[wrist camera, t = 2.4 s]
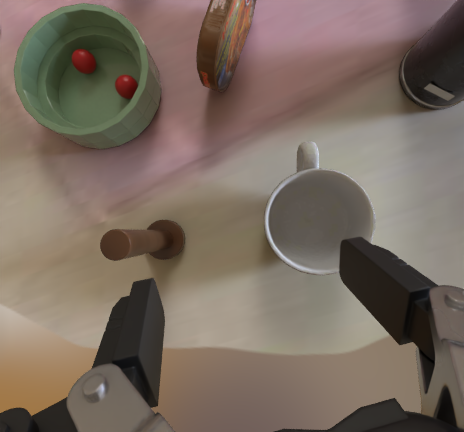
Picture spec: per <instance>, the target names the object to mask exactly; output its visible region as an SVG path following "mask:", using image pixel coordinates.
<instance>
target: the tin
mask: <svg viewBox="0 0 464 432" xmlns="http://www.w3.org/2000/svg"><path fill="white" fill-rule="evenodd" d="M255 4H256V0H211V1H210V4H209V7H208V10H207V12H206V15H205V18H204V21H203V24H202V27H201V31H200V35H199V40H198V46H197V70H198V73H199V76H200V80H201V82H202V84H203V85H204V86H205V87H208V88H211V89H215V90H218V91H219V92H223V91H225V90H226V88H227V87H228V85H229V83H230V81H231V79H232V76H233V73H234V70H235V67H236V65H237V62H238V59H239V56H240V53H241V50H242V48H243V45H244V42H245V39H246V36H247V34H248V31H249V28H250V25H251V21H252V17H253V13H254V9H255Z"/></svg>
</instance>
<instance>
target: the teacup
mask: <svg viewBox="0 0 464 432" xmlns="http://www.w3.org/2000/svg"><path fill="white" fill-rule="evenodd" d="M264 229H265V234H266V237H267V240H268V242H269V244H270V246H271V248H272V249H273V251H274V252H275V254H276V255H277V256H278V257H279V258H280V259H281V260H282V261H283V262H284V263H286V264H287V265H288V266H290V267H292V268H294V269H296V270H298V271H300V272H304V273H307V274H313V275H329V274H334V273H338V272H339V261H340V244H341V241H342V240H344V239H349V238H354V237H359V236H360V237H363V238H364V239H365V240H367V241H368V242H370V243H371V241H372V238H373V235H374V231H375V214H374V209H373V207H372V204H371V200H370V199H369V196H368V195H367V193H366V191H365V190H364V189H363V188H362V187H361V186H360V185H359V184H358V183H357V182H356V181H355V180H354V179H353V178H351V177H350V176H347V175H346V174H344V173H341V172H338V171H335V170H331V169H321V168H319V154H318V148H317V145H316V144H315V143H314V142H311V141H308V142H303V143H301V144H300V145H299V147H298V151H297V173H295V174H293V175H291V176H289V177H288V178H286V179H285V180H283V181H282V182H281V183H280V184H279V185H278V186H277V187H276V188H275V189H274V191H273V192H272V194H271V196H270V198H269V200H268V202H267V205H266V209H265V214H264Z"/></svg>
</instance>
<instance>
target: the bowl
mask: <svg viewBox="0 0 464 432" xmlns="http://www.w3.org/2000/svg"><path fill="white" fill-rule="evenodd" d="M77 49H85V50H87V51H89V52H90V53H91V54H92V55H93V56H94V58H95V60H96V69H95V71H94V72H92V73H90V74H84V73H81V72H79V71H78V70H77V69H76V68H75V67H74V65H73V63H72V54H73V52H74V51H75V50H77ZM121 75H129V76H131V77H133V78H134V79H135V80H136V81H137V83H138V88H137V90H136V92H135V94H134V95H133V97H132V99H125V98H123V97H121V96H120V95H119V94H118V93H117V91H116V88H115V82H116V80H117V78H118V77H119V76H121ZM14 76H15V85H16V91H17V93H18V95H19V97H20V99H21V101H22V103H23V106H24V108H25V109H26V110H27V112H28V113H29V114H30V115H31V116H32V117H33V118H34V119H35V120H36V121H37V122H38V123H39V124H41V125H43V126H45V127H47V128H48V129H50V130H52V131H54V132H56V133H58V134H60V135H62V136H63V137H65V138H67V139H69V140H71V141H73V142H75V143H77V144H79V145H81V146H84V147H90V148H97V149H105V148H110V147H116V146H120V145H122V144H124V143H126V142H128V141H130V140H132V139H134V138H136V137H137V136H138V135H139V134H140V133H141V132H142V131H143V130H144V129H145V128H146V127H147V126H148V125H149V124H150V122H151V121H152V119H153V117H154V115H155V113H156V111H157V109H158V107H159V101H160V95H161V84H160V77H159V72H158V69H157V67H156V65H155V63H154V61H153V60H152V58H151V56H150V54H149V52H148V50H147V48H146V46H145V44H144V42H143V40H142V38H141V36H140V34H139V32H138V30H137V29H136V27H135V26H133V25H132V24H131V23H130V22H129V21H128V20H127V19H126V18H125V17H124V16H123V15H122V14H120V13H118V12H115V11H113V10H111V9H109V8H107V7H105V6H102V5H94V4H86V3H83V4H82V3H81V4H76V5H70V6H65V7H61V8H59V9H57V10H55V11H53V12H51V13H50V14H48V15H46V16H44V17H42V18H41V19H40V20H39V21H38V22H37V23H36V24H35V25H34V26H33V27H32V28H31V29H30V30H29V31H28V32H27V34H26V36H25V38H24V40H23V42H22V43H21V45H20V47H19V49H18V52H17V57H16V62H15V67H14Z"/></svg>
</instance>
